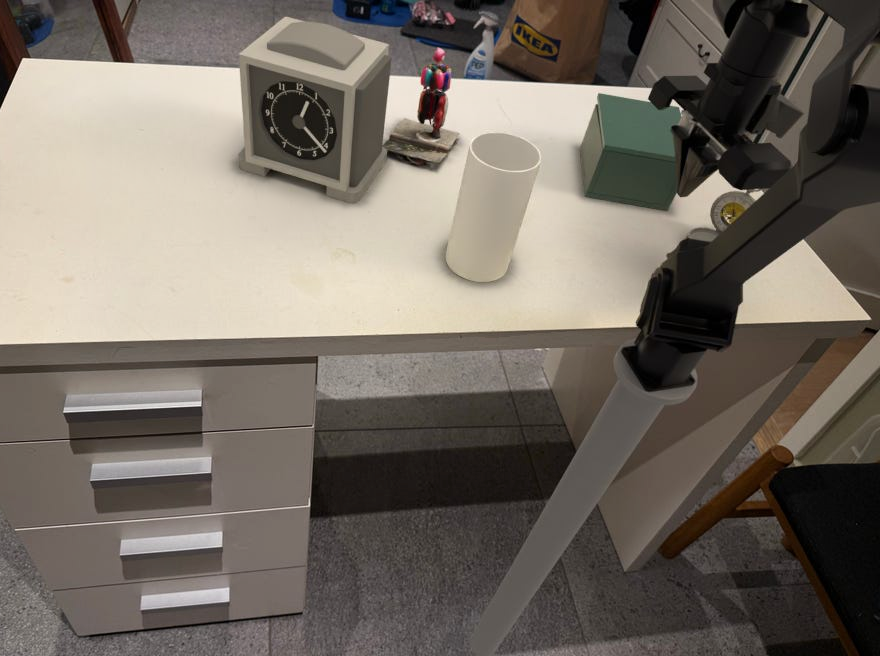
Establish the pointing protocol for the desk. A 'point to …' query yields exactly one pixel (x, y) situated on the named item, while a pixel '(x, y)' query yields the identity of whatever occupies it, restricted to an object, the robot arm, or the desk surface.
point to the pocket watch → (733, 206)
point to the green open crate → (624, 173)
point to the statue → (433, 105)
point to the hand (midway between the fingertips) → (681, 195)
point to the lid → (637, 127)
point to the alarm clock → (315, 106)
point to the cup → (491, 205)
